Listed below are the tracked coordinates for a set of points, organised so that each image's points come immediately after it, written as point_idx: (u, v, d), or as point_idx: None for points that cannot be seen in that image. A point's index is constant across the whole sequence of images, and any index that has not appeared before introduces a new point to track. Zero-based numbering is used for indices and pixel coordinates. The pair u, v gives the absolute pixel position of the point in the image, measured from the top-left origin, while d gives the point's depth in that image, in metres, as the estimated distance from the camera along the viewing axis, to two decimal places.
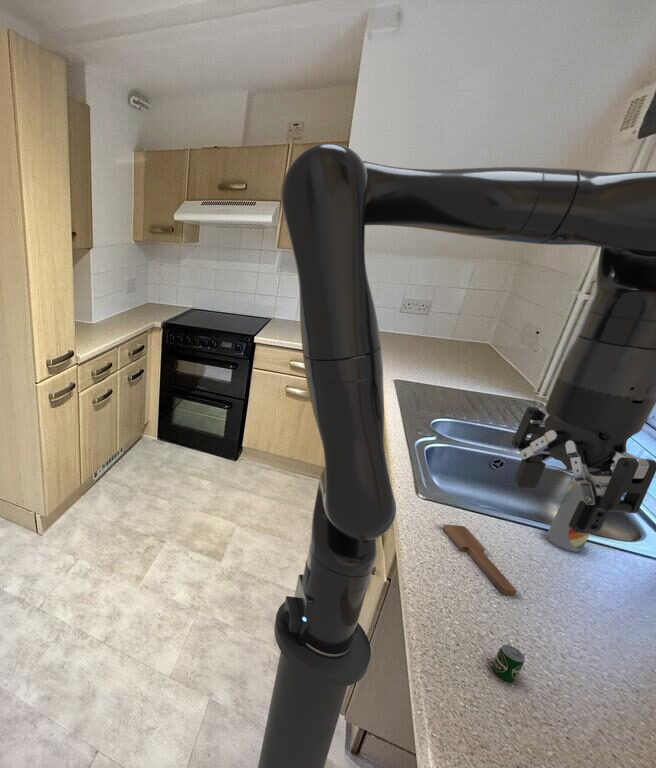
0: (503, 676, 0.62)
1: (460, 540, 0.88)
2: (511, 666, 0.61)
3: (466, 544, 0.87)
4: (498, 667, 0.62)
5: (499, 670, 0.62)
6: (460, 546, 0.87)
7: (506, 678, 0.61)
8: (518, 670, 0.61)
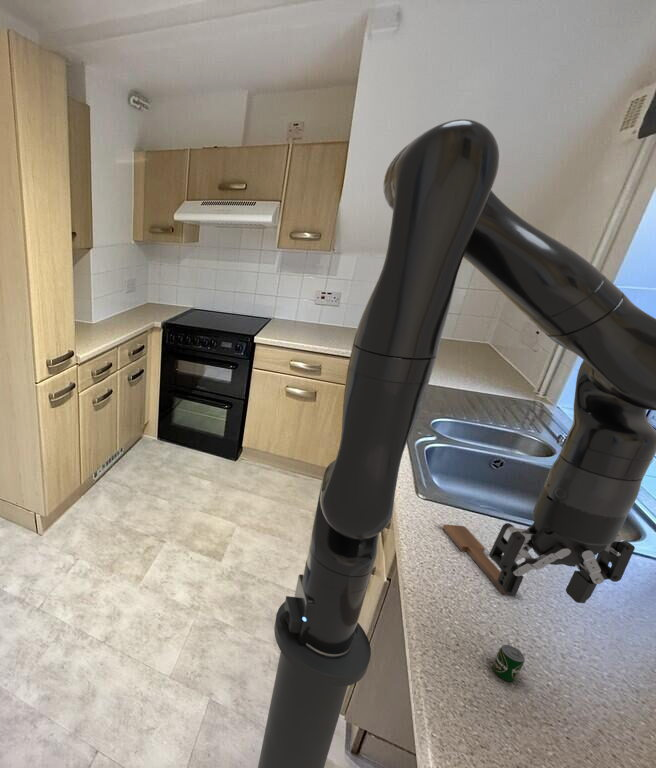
0: (503, 676, 0.62)
1: (460, 540, 0.88)
2: (511, 666, 0.61)
3: (466, 544, 0.87)
4: (498, 667, 0.62)
5: (499, 670, 0.62)
6: (460, 546, 0.87)
7: (506, 678, 0.61)
8: (518, 670, 0.61)
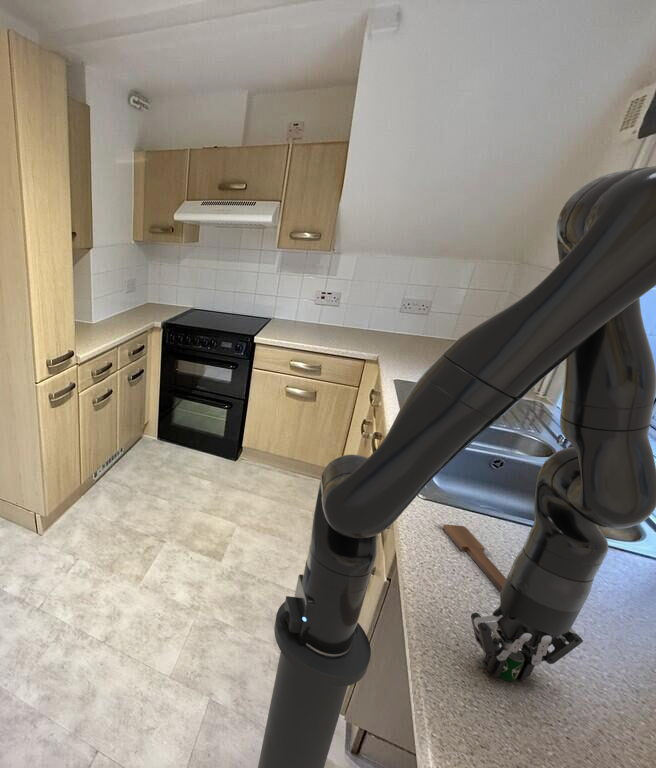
0: (503, 676, 0.62)
1: (460, 540, 0.88)
2: (511, 666, 0.61)
3: (466, 544, 0.87)
4: None
5: None
6: (460, 546, 0.87)
7: (506, 678, 0.61)
8: (518, 670, 0.61)
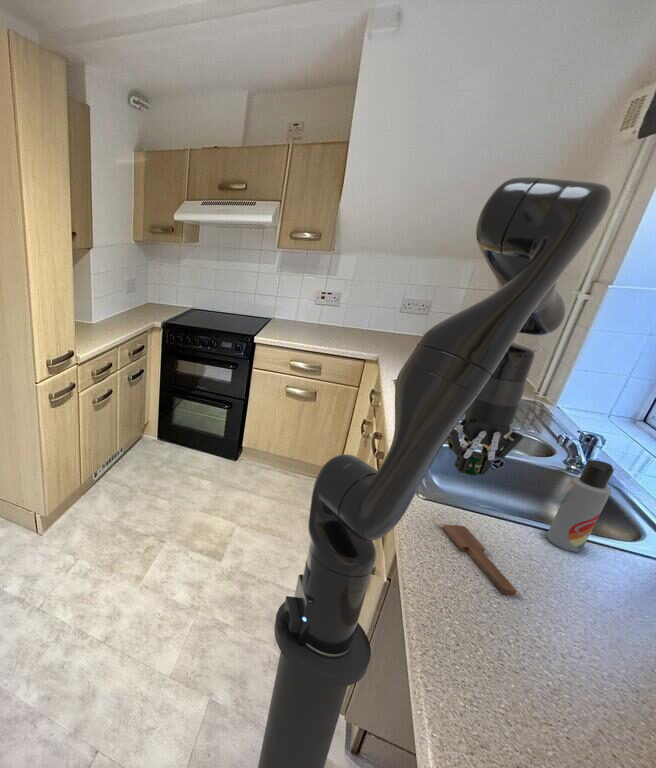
0: (469, 472, 0.86)
1: (460, 540, 0.88)
2: (474, 463, 0.85)
3: (466, 544, 0.87)
4: None
5: None
6: (460, 546, 0.87)
7: (471, 473, 0.86)
8: (479, 465, 0.85)
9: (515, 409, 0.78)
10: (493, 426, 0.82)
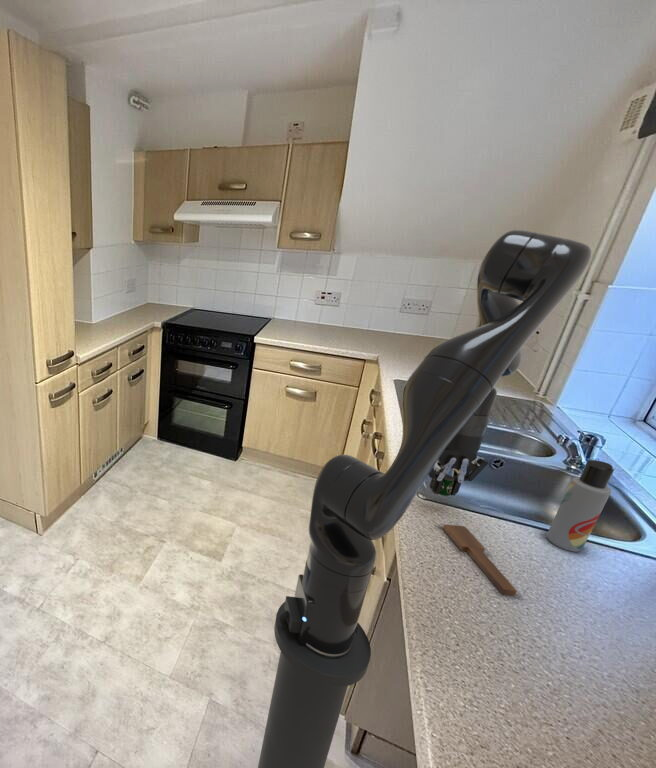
0: (442, 493, 0.97)
1: (460, 540, 0.88)
2: (446, 485, 0.96)
3: (466, 544, 0.87)
4: None
5: None
6: (460, 546, 0.87)
7: (443, 494, 0.96)
8: (450, 487, 0.96)
9: (480, 439, 0.89)
10: (462, 453, 0.93)
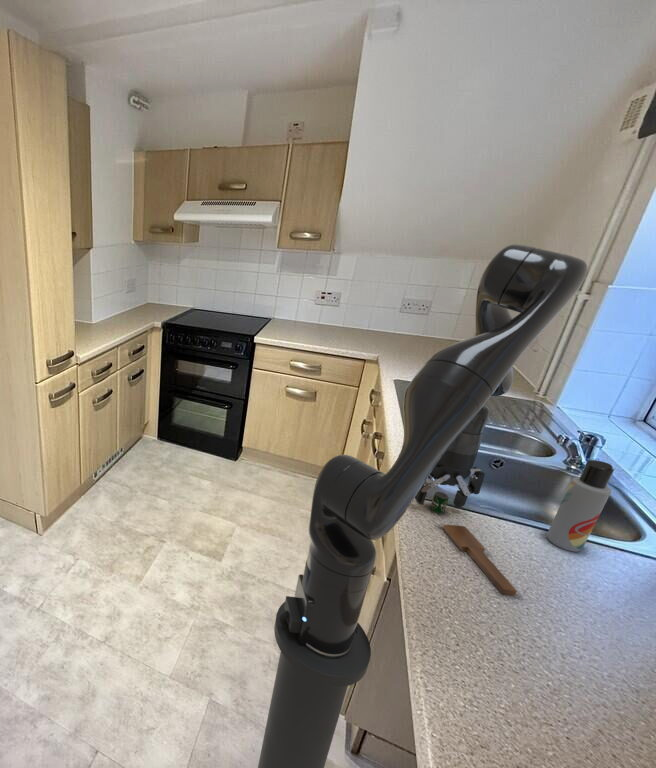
0: (436, 510, 0.98)
1: (460, 540, 0.88)
2: (440, 502, 0.97)
3: (466, 544, 0.87)
4: (433, 505, 0.99)
5: (433, 507, 0.99)
6: (460, 546, 0.87)
7: (438, 511, 0.98)
8: (444, 505, 0.97)
9: (474, 457, 0.91)
10: (456, 470, 0.94)
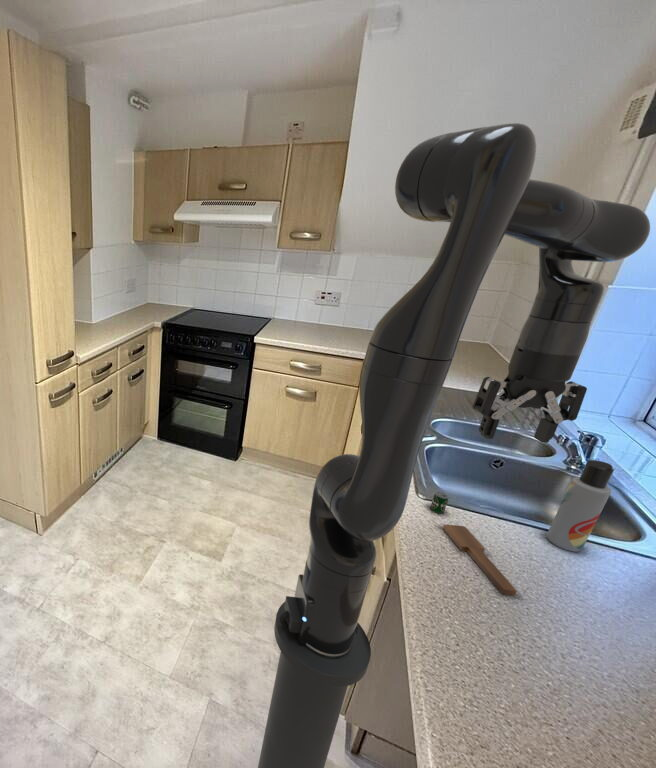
0: (436, 510, 0.98)
1: (460, 540, 0.88)
2: (440, 502, 0.97)
3: (466, 544, 0.87)
4: (433, 505, 0.99)
5: (433, 507, 0.99)
6: (460, 546, 0.87)
7: (438, 511, 0.98)
8: (444, 505, 0.97)
9: (576, 360, 0.62)
10: (545, 384, 0.65)
